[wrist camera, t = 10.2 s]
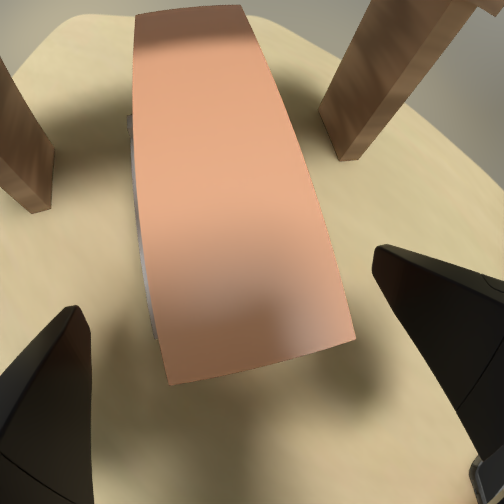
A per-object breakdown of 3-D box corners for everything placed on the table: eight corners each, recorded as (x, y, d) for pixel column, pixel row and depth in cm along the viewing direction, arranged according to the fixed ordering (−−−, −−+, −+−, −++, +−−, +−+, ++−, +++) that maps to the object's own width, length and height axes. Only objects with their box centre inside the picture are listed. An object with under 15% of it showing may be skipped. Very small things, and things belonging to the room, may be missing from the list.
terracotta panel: (268, 339, 16) (355, 339, 6) (192, 356, 15) (169, 385, 6) (222, 142, 19) (240, 4, 9) (158, 152, 18) (135, 14, 8)
